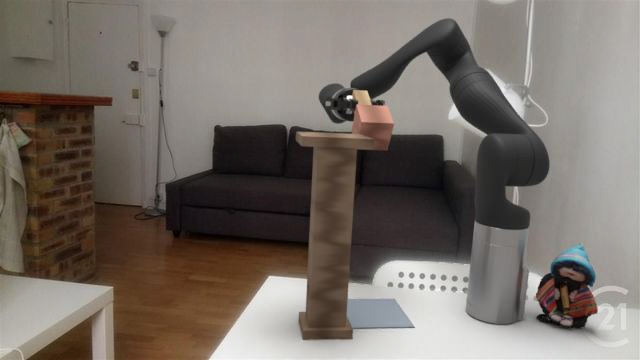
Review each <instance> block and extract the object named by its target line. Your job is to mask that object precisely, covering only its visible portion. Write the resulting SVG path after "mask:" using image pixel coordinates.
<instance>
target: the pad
mask: <svg viewBox="0 0 640 360" xmlns="http://www.w3.org/2000/svg"><path fill="white" fill-rule="evenodd" d="M347 317H348V319H349V322H350V324H351V326H352V328H353V330H355V329H357V330H359V329H363V330H364V329H406V328H407V329H410V328H411V329H413V328H416V327H415V325H414V324H413V322H412V321H411V320H410V318H409V317H408V315H407V314H406V312H405V311H404V310H403V309H402V307H401V305H400V304H399V302H398V301H397V300H396V298H348V301H347Z"/></svg>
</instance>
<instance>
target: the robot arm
mask: <svg viewBox="0 0 640 360" xmlns="http://www.w3.org/2000/svg"><path fill="white" fill-rule="evenodd" d="M425 53H427V55H428V56H429V58H430V60H431V61H432V63H433V65H434V66H435V67H436V68H437V70H439V72H440V73H441V74H442V75H443V76H444V77H445V79H446V80H447V81H448V83H449V94H450V97H451V100H452V102H453V105H454V106H455V108H456V110H457V111H458V113H459V115H460V116H461V118H463V120H464V121H466V122H467V123H469V124H470V125H471V126H473V127H474V128H475V129H477V130H479V131H480V132H482V133H484V134H485V136H484V137H483V138H482V140H481V142H480V144H479V146H478V150H477V156H476V163H475V164H476V167H475V168H476V169H475V170H476V171H475V173H476V174H475V190H474V208H475V209H474V210H475V216H474V226H473V233H472V234H473V235H472V246H471V254H470V255H471V256H470V265H469V274H468V283H467V293H466V300H465V301H466V303H465V311H466V312H467V314H469V316H471V317H473V318H475V319H477V320H479V321H483V322H486V323H490V324H496V325H499V324H500V325H508V324H509V325H510V324H514V323H516V322H518V321H523V320H524V316H525V315H524V313H525V309H526V308H525V307H526V297H527V290H528V283H529V282H528V281H529V275H530V271H529V269H528V268H527V267H525V265H526V257H527V250H528V249H527V247H528V240H529V232H530V223H531V212H530V211H529V210H528V209H527V208H525V207H523V206H521V205H518V204H516V203H513V202H512V201H510V200H509V199H508V198H507V194H506V187H518V188H519V187H521V188H522V187H523V188H525V187H532V186H537V185H539V184H541V183H542V182H544V181H545V179H546V178H547V177H548V175H549V171H550V166H551V165H550V155H549V153H548V150H547V148H546V145H545V144H544V142H543V140H542V139H541V138H540V136H539V135H538V134H537V133H536V132H535V131H534V130H533V129H532V128H531V126H530V125H529V124H527V122H526V121H525V120H524V119H523V118H522V117H521V116H520V115H519V114H518V113H519V112H518V111H516V109H515V108H514V107H513V105H512V104H511V103H510V101H509V100H508V98H507V97H506V96H505V94H504V93H503V91H502V89H501V87H500V86H499V85H498V83H497V82H496V81H495V79H494V77H493V76H492V75H491V73H490V72H489V71H488V70H486V69H485V68H483V67H481V66H479V65H478V63H477V60H476V59H475V56H474V53H473V51H472V48H471V45H470V43H469V41H468V39H467V38H466V35H465V34H464V32H463V31H462V29H461V27H460V26H459V24H458V22H457V21H456V20H455V19H453V18H450V17H449V18H442V19H439V20H437V21H435V22H434V23H432V24H430V25H429V26H427V27H425V29H423V30H422V31H421V32H419V33H418V34H417V35H415V36H414V37H413V38H411V39H410V40H409V41H407V43H405V44H404V45H403V46H401V47H400V48H398V49H397V50H396V51H395V52H393V53H392V54H391V55H389V56H388V57H387V58H386V59H384V60H383V61H381V62H380V63H379V64H377V65H375V66H374V67H372V68H370V69H368V70H366V71H365V72H363V73H361V74H360V75H357V76H356V77H354V78H353V79H352V80H351V82H350V87H348V88H345V87H344V86H343V85H342V84H340V83H338V82H337V83H334V82H333V83H329V84H327V85H326V86H324V87H323V88H322V89H321V90H320V91H319V93H318V100H319V102H320V104H321V106H322V108H323V110H324V111H325V113H326V114H327V116H328V118H329V120H330V121H331V123H334V124H337V125H338V124H340V125H341V124H343V123H345V122H353V121H354V111H355V110H356V105H358V100H353V99H352V94H353V90H363V91H367V92H368V95H369V97H370V101H371V104H372V105H376V106H386V100H384V99H377V100H374V99H376V98H377V97H380V96H383V94H385V93H387V92H388V91H390V90H391V89H392V88H394V86H395V85H396V83H397V82H398V81H399V79H400V78H401V76H402V75H403V73H404V71H405V70H406V69H407V67H408V66H409V65H410V63H411V62H412V61H413V60H414V59H417V57H419V56H421V55H423V54H425Z"/></svg>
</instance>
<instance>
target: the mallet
mask: <svg viewBox="0 0 640 360" xmlns="http://www.w3.org/2000/svg"><path fill="white" fill-rule="evenodd" d="M352 99H353V100H358V105H356V110H355V111H354V121H352V128H351V134H361V135H364V136H367V137H370V138H373V139H375V140H374V149H360V148H357V150H364V151H365V150H366V151H367V150H369V151H388V150H389V146H390V141H391V139H392V133H393V130H394V126H395V121H394V119H393V117H392V114H391V112H390V109H389V106H388V105H385V106H376V105H372V104H371V101H370V97H369V95H368V92H367V91H363V90H353V94H352Z"/></svg>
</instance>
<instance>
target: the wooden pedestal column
mask: <svg viewBox="0 0 640 360" xmlns="http://www.w3.org/2000/svg"><path fill="white" fill-rule="evenodd" d="M374 140H375V139H373V138H370V137H367V136H364V135H361V134H352V133H341V132H337V133H336V132H318V131H317V132H316V131H296V132H295V141H296V142H297V143H298V144H299V145H300V146H301V147H308V148H309V147H310V148H313V152H312V153H313V154H312V155H313V156H312V170H311V171H312V174H311V176H312V177H311V190H310V191H311V195H310V212H309V213H310V214H309V215H310V216H309V233H308V255H307V256H308V257H307V259H308V260H307V274H306V275H307V277H306V294H305V295H306V297H305V299H306V300H305V311H299V312H298V323H299V324H298V325H299V327H300V332H301V337H302V340H303V341H304V340H305V341H306V340H310V341H311V340H353V337H354V336H353V335H354V329H353V328H352V326H351V324H350V322H349V319H348V317H347V301H348V299H349V297H348V296H349V283H350V267H351V266H350V265H351V251H352V250H351V249H352V235H353V232H352V231H353V221H354V220H353V219H354V203H355V188H356V187H355V185H356V173H357V172H356V171H357V157H358V156H357V155H358V154H357V153H358V149H357V148H360V149H359V150H361V149H374Z"/></svg>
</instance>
